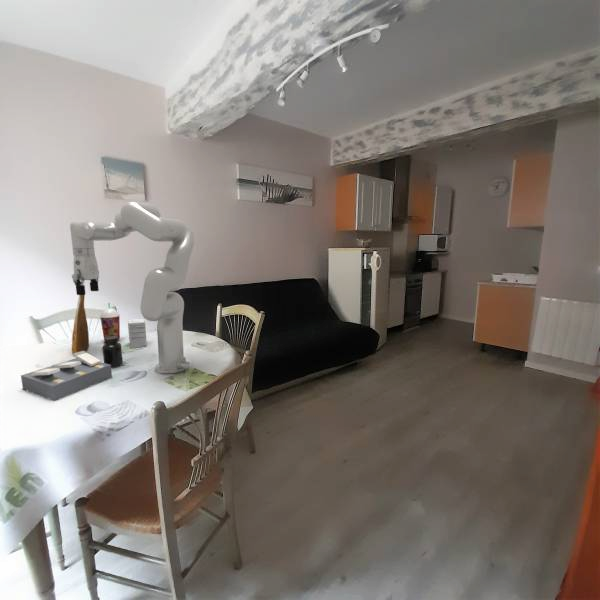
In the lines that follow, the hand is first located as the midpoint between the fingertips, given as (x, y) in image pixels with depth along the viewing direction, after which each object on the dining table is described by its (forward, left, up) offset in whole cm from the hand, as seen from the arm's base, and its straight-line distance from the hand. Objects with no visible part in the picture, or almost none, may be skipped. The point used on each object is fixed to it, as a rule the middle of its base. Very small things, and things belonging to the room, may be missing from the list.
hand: (88, 292), depth 137 cm
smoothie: (+12, -17, -29) cm, 36 cm away
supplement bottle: (-16, +3, -29) cm, 33 cm away
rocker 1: (-17, +28, -22) cm, 39 cm away
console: (-17, +21, -29) cm, 39 cm away
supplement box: (-4, -19, -29) cm, 35 cm away
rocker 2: (-17, +21, -22) cm, 35 cm away
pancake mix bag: (+13, -3, -29) cm, 32 cm away
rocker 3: (-17, +14, -22) cm, 31 cm away
